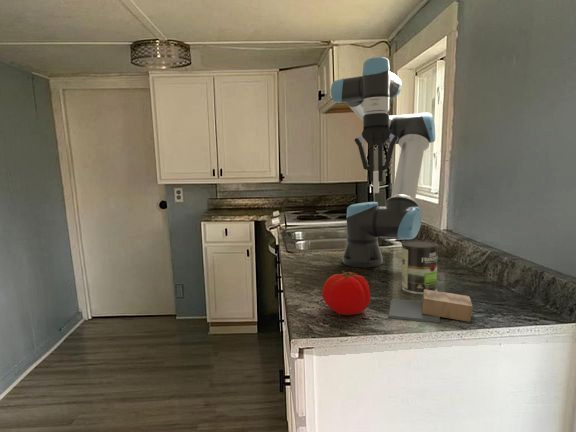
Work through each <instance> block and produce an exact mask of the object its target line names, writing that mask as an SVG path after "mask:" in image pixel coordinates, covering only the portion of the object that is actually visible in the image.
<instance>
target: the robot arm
mask: <svg viewBox="0 0 576 432" xmlns="http://www.w3.org/2000/svg"><path fill="white" fill-rule="evenodd" d="M390 69H391V67H390V60H389V59H388V58H387V57H381V56H379V57H378V56H377V57H371V58H368V59H366V60H365V61H364V62H363V67H362V74H361V75H360V76H359V75H358V76H355V77H347V78H344V77H343V78H340V79H336V80H334V81H333V82H332V83H331V86H330V95H331V99H332V101H333V102H334V103H336V104H342V103H344V104H346V106H348V107H349V108H350V109H351V111H353V112H354V114H355V115H356V116H357V117H358V118H359V119H360V120H361V121H362V122H363V123H362V124H363V127H362V128H363V129H362V132H361V135H359V136H358V137H356V138H354V142H355V144H356V145H357V148H358V150H359V151H358V153H359V155H360V159H361V164H362V167H363V169H364V170H365V171H368V172H369V182H370V183H372V185H373V190H372V191H373V192H372V193H373V194H379V193H380V182H381V183H383V181H384V171H386V170H387V169H389V168H390V164H391V161H392V157H393V153H394V150H395V149H394V148H395V145H398V146H399V147H400V153H399V158H398V161H397V162H398V163H397V168H396V174H395V176H394V177H395V178H394V183H393V187H392V193H391V196H390V197H389V198H387V199H386V201H385V205H384V206H383V205H379V202H377V201H367V202H360V203H353V204H350V205H349V206H348V207H347V209H346V244H345V248H344V252H343V254H342V264H344V265H346V266H348V267H355V268H375V267H379V266H381V265H382V264H383V262H384V260H383V255H382V252H381V248H380V246H379V245H380V244H379V238H384V239H394V240H395V239H396V240H413V239H416V237H417V236H418V234H419V232H420V229H421V225H422V219H423V212H422V209H421V208H420V207H419V203H418V202H417V201H416V196H417V191H418V186H419V181H420V175H421V170H422V169H421V168H422V162H423V158H424V151H425V152H426V150H428V148H429V147H430V143H431V144H433V143H434V142H435V141H436V127H435V125H436V124H435V118H434V117H433V114H432V113H430V112H420V113H410V114H409V113H408V114H400V115H390V114H389V112H390V99H393V98H396V97H397V96H398V95H399V94H400V92H401V90H402V88H403V87H402V84H403V83H402V80H401V79H400V77H399V76H398V75H397V74H396V73H394V72H391V71H390ZM364 140H365V142H366V144H368V145H369V146H368V149H369V151H368V152H369V160H368V159H367V156H366V152H365V149H364V145H363V143H364ZM384 144H389V146H388V151H387V154H386V158H385V162H384ZM376 145H377V165H378V167H377V170H376V169H375V148H376V147H375V146H376ZM368 161H369V163H368Z"/></svg>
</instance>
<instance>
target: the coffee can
mask: <svg viewBox="0 0 576 432" xmlns="http://www.w3.org/2000/svg"><path fill="white" fill-rule="evenodd" d="M401 249H402V250H401V251H402V252H401V289H402V290H403V291H404V292H406V293H409V294H414V295H422V296H423V292H424V289H426V290H432V291H438V288H437V287H438V254H439V253H438V252H439V251H438V249H439V244H438V243H437V242H434V241H430V240H416V239H415V240H413V239H411V240H406V241H403V242H401Z"/></svg>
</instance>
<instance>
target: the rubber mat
mask: <svg viewBox="0 0 576 432" xmlns="http://www.w3.org/2000/svg"><path fill="white" fill-rule="evenodd" d="M422 301H423V300H412V299H401V298H400V299H399V298H391V302H390V307H389V311H388V316H387V317H388V318H389V319H396V320H397V319H398V320H408V321H418V322H426V323H436V324H437V323H438V324H441V317H439V316H433V315H427V314H422Z"/></svg>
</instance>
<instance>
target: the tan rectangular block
mask: <svg viewBox="0 0 576 432" xmlns="http://www.w3.org/2000/svg"><path fill="white" fill-rule="evenodd" d="M421 301H422V314H427V315H433V316H439V317H440V318H445V319H450V320H456V321H463V322H467V323H469V322H470V323H471V321H472V313H473V308H474V307H473V304H472V300H471V297H470V296H469V295H464V294H456V293H450V292H445V291H438V290H437V291H432V290H426V289H424V292H423V295H422V300H421Z"/></svg>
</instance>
